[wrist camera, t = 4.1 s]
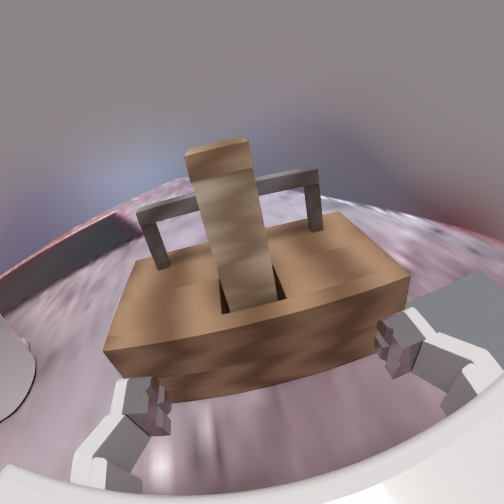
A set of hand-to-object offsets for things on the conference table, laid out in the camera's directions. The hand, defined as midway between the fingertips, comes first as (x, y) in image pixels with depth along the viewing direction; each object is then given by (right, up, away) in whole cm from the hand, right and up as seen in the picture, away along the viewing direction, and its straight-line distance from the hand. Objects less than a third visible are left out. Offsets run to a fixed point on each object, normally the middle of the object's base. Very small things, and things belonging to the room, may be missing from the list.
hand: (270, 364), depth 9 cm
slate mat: (+23, -4, +11) cm, 26 cm away
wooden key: (0, -2, +14) cm, 15 cm away
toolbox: (0, -4, +19) cm, 20 cm away
